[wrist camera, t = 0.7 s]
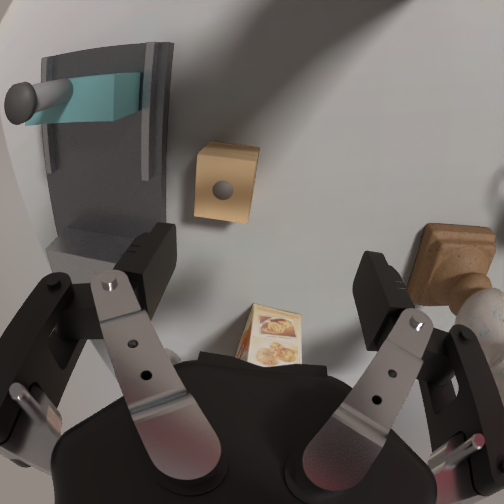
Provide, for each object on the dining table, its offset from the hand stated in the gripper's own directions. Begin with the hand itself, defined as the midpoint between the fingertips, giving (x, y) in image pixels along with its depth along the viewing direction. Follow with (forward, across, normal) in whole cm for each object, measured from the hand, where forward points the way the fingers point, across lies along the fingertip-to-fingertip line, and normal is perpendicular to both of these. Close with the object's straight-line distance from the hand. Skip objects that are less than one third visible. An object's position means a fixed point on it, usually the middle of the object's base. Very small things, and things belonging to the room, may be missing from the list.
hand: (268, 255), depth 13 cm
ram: (+17, +19, -6) cm, 26 cm away
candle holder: (+19, -25, +10) cm, 33 cm away
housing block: (+19, +4, +3) cm, 20 cm away
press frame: (+19, +19, +4) cm, 27 cm away
